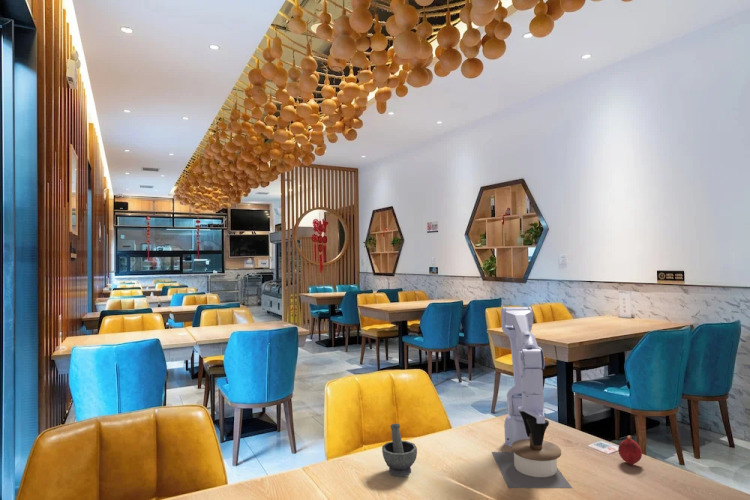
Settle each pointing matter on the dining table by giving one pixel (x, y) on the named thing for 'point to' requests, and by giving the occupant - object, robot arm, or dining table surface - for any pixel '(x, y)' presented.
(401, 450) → the mortar and pestle
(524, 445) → the lid
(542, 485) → the placemat
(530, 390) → the robot arm
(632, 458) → the onion
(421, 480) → the dining table surface
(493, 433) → the dining table surface
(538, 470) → the bowl
